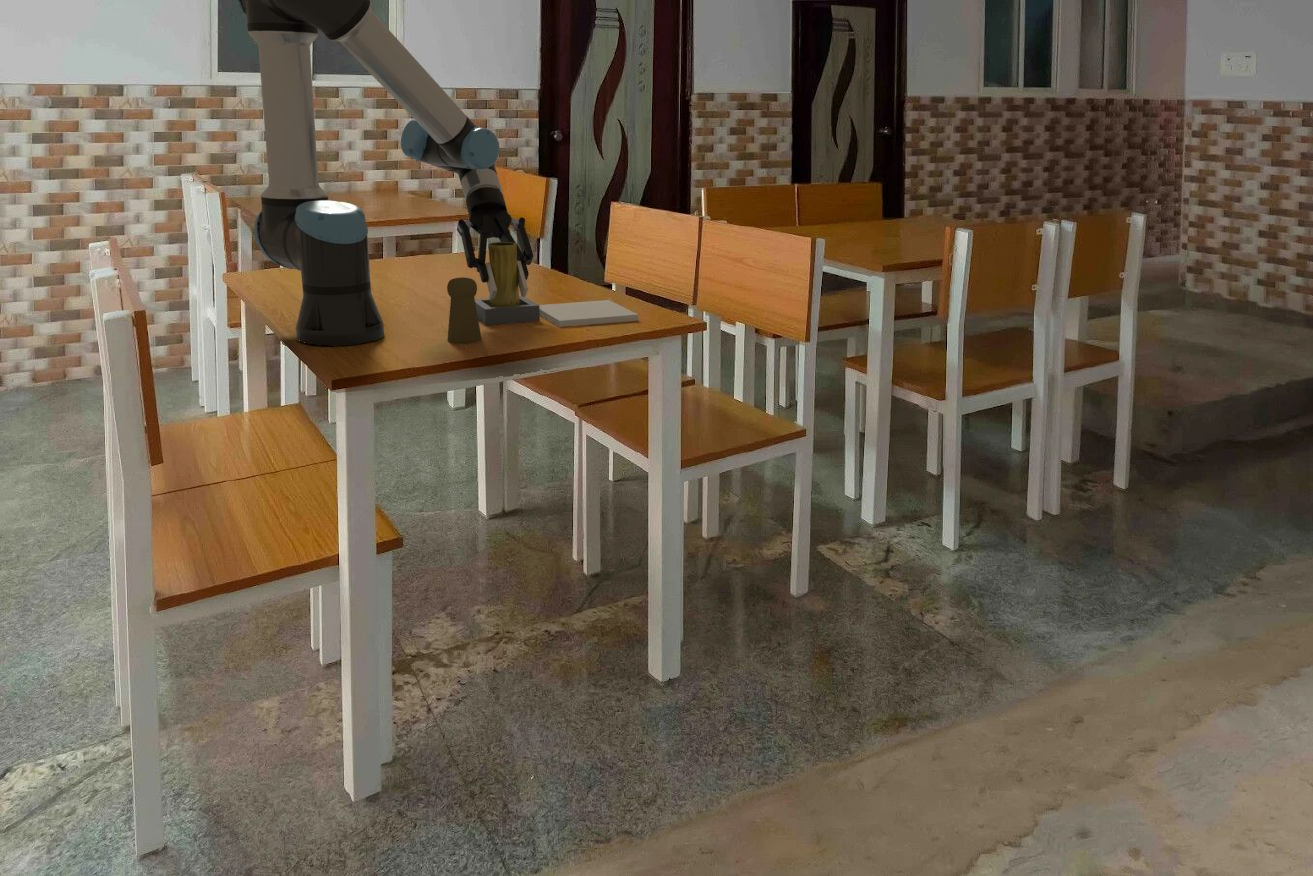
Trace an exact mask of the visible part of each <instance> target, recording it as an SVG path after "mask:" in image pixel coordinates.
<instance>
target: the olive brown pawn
mask: <svg viewBox="0 0 1313 876" xmlns="http://www.w3.org/2000/svg"><path fill="white" fill-rule="evenodd" d="M446 290H447V291H446V292H447V294H448V296H449V297H450V303H449V304H450V305H449V316H448V317H449V318H448V329H447V342H449V343H452V344H460V345H461V344H463V345H465V344H466V345H467V344H475V343H478V342H481V341H482V339H483V337H482V333H481V328H480V322H479V321H480V320H478V315H477V309H476V304H475V299H476V298H475V297H476V295H477V292H478V285H477V282H476V280H475V279H473V278H470V277H463V276H462V277H455V278H451V279H449V281H448V283H447V286H446Z"/></svg>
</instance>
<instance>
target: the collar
mask: <svg viewBox="0 0 1313 876" xmlns="http://www.w3.org/2000/svg"><path fill="white" fill-rule="evenodd" d="M519 302H520V305H517V306H504V307H490V297H489V298H488V297H487V298H475V304H476V309H477V315H478V321H480V322H481V323H482V324H484V325H485V326H492V325H504V324H505V325H506V324H516V323H517V324H518V323H533V322H540V320H541V319H540V317H541V315H540V309H539V305H540V304H538V303H536V302H534V301H533V300H531V299H530V298H528V297H526V296H525V297H522V296H521V295H519Z"/></svg>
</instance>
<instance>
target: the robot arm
mask: <svg viewBox="0 0 1313 876" xmlns="http://www.w3.org/2000/svg"><path fill="white" fill-rule="evenodd" d="M236 2H237V5H238V7H239V8H240V10H241V11H242V12H243V13H244V15H245V17H246V24H247V33H248V35H249V36H250V37H251V38H252V39H253V40H254V41H255V42H256V43H257V46H258V58H259V69H260V70H259V71H260V84H261V94H262V95H261V98H262V110H263V111H262V112H263V123H264V124H263V125H264V135H265V137H264V138H265V146H266V147H265V149H266V151H265V152H266V160H267V162H266V163H267V174H268V184H267V185H268V186H267V187H266V188H265V189H264V190H263V192H261V194H260V199H261V200H260V201H261V202H260V204H261V210H260V212H259V213H258V214H257V216H256V217H255V220H254V221H255V222H254V227H253V234H254V235H253V236H254V239H255V242H256V245H257V247H258V249H259V250H260V252H261V254H263V255H264V256H265V257H266V258H267V260H270V261H271V262H273V263H274V264H276V265H277V266H280V267H282V268H285V269H289V270H297V271H299V272H300V275H301V283H302V284H301V285H302V287H301V288H302V299H301V303H300V308H299V312H298V316H297V320H296V325H295V333H296V340H297V339H298V340H300V341H302V342H305V343H310V344H318V345H317V346H321V345H328V346H327V347H335V346H339V347H340V346H349V345H350V346H351V345H361V344H365V343H370V342H373V341H377V340H379V339H382V338H383V337H385V328H384V327H385V324H384V321H383V318H382V316H381V313H380V311H379V309H378V306H377V303H376V301H375V299H374V297H373V294H372V287H371V285H372V284H371V270H370V269H371V268H370V253H369V242H368V232H369V229H368V225H367V220H366V215H365V211H364V210H362V208H361V207H359V206H358V205H356V204H352V203H348V202H345V201H337V200H329V195H328V192H326V191H325V190H324V189H323V188H322V187H321V186H320V183H319V172H318V171H319V170H318V169H319V168H318V155H317V154H318V153H317V140H316V139H317V138H316V126H315V125H316V124H315V123H316V122H315V108H314V107H315V105H314V94H313V93H314V89H313V77H312V75H313V74H312V61H311V45H312V44H313V42H314V41H315V40H316V39H317V38H318V37H319V31H320V32H322V34H324V36H325V37H326V38H327V39H328V40H329V41H331V42H339V43H340V44H341V45H342V46H344V48H345V49H347V51H348V52H349V53H350V54H351V55H352V56H353V57H354V58H355V60H356V61H358V62H359V63H360V64H361V65H362V66H363V67H364V68H365V70H366V71H368V73H369V74H370V75H371V76H372V77H373V78H374V80H375V81H377V82H378V83H379V84H380V86H382V87H383V88H384V89H385V90H386V92H387V93H388V94H389V95H390V96H391V97H392V98H393V99H394V100H395V101H396V102H397V103H398V104H399V105H400V106H401V107H402V108H403V109H404V111H406V112H407V114H408V115H410V117H412V119H411V120H409V121H408V122H407V123H406V125H405V127H404V128H403V130H402V134H401V136H400V137H401V138H400V149H401V151H402V153H403V154H404V155H405V156H406V157H408V158H411V159H414V160H415V161H416V162H421V163H424V164H428V165H430V166H433V167H437V168H440V169H443V170H445V171H448V172H451V173H454V174H457V175H458V179H459V181H460V185H461V188H462V192H463V195H464V201H465V206H466V209H467V212H468V217H469V219H467V220H464V219H459V220H458V222H457V226H456V231H457V233H458V234H459V236H460V237H461V241H462V246H463V250H464V256H465V260H466V265H467V267H468V268H469V269H473V268H475V269H476V272H478V273H479V277H480V280H481V282H482V283H486V284H487V285H486V286H487V288H488V293H489V298H490V297H491V299H495V296H496V292H497V288H496V284H495V280H494V277H493V273H492V269H491V265H490V262H486V261H487V260H486V259H487V248H488V247H487V246H488V239H492V238H496V239H499V242H512V243H516V245H517V270H518V288H519V291H520V292H519V293H520V296H522V297H526V296H527V292H528V290H529V287H528V283H527V281H528V278H529V269H528V266H530V265H531V264H532V262H533V259H534V252H533V250H532V249H533V248H532V246H531V243H530V240H529V236H528V234H527V231H526V227H525V226H526V219H525V218H524V217H522V216H521V217H520V218H519V219H516V218H514V217H513V218H512V216H511V215H510V214H509V212H508V209H507V205H506V202H505V197H504V194H503V191H502V190H503V189H502V186H501V182H500V180H499V176H498V172H497V169H496V165H495V163H496V161H497V160H498V158H499V156H500V155H499V154H500V143H499V139H498V137H497V136H496V134H495V133H494V132H493V131H492V130H490V129H488V128H486V127H482V126H477V125H476V124H475V123H474V122H473V120H471V119H470V118H469V117H468V116H467V114H465V112H464V111H463V110H462V109H461V108H460V106H458V105H457V103H456V102H455V101H454V100H453V99H452V98H451V97H450V95H449V94H448V93H447V92H446V91H445V90H444V89H443V88H442V87H441V86H440V85H439V83H438V82H436V80H435V79H434V78H433V76H431V74H430V73H429V72H427V70H426V69H425V68H424V67H423V66H422V65H421V64H420V62H419V61H418V60H417V59H416V58H415V57H414V56H413V55H412V53H410V51H409V50H408V49H407V48H406V46H405V45H404V44H403V43H401V41H400V40H399V39H398V38H397V37H396V36H395V35H394V34H393V32H392V31H391V29H389V28H388V27H387V26H386V25H385V24H384V23H383V21H382V20H381V19H380V18H379V17H378V16H377V15H376V13H374V11H373V10H372V8H373V7H372V5H373V3H372V1H371V0H236ZM510 226H512V228H513V231H514V232H516V237H517V240H518V244H519V245H518V244H517V242H516V241H515V239H514V237H513V235H512V234H511V231H510ZM471 229H473V231H475V232H476V233H478V234H479V239H478V254H477V257H476V255H475V254H476V253H475V250H474V249H475V248H474V245H473V241H472V240H473V239H472V236H471V231H470V230H471ZM298 340H297V341H298ZM302 342H301V343H302ZM305 343H304V344H305ZM310 344H309V345H310ZM329 345H330V346H329Z"/></svg>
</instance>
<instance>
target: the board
mask: <svg viewBox="0 0 1313 876" xmlns="http://www.w3.org/2000/svg"><path fill="white" fill-rule="evenodd" d="M538 305H539V309H540V317H543V318H544V319H546V320H547V321H549V322H550V323H552V324H554V325H555V326H556V327H558V328H563V327H565V328H566V327H577V326H579V327H580V326H588V325H591V326H592V325H600V324H613V323H614V324H615V323H626V322H627V323H628V322H638V321H639V313H637V312H634V311H632V310H630V309H628V308H626V307H624V306H622V305H620V304H618V303H616V302H614V301H612V300H610V299H607V300H606V299H604V300H591V301H578V302H577V301H576V302H564V303H563V302H562V303H561V302H560V303H548V304H538Z"/></svg>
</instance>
